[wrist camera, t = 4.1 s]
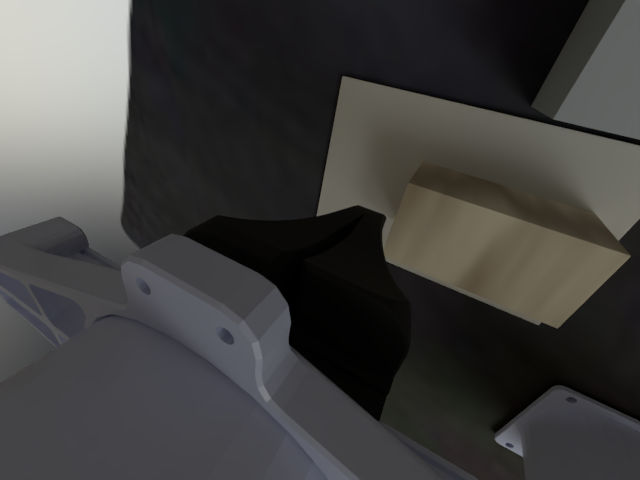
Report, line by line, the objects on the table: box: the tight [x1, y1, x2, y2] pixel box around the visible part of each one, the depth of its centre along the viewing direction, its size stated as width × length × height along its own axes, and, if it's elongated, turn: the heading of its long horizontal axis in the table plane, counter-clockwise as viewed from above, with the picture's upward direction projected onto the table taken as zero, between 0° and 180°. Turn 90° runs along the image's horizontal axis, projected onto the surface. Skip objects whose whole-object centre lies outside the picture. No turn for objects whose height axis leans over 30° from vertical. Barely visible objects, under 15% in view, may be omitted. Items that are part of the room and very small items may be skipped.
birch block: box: [384, 161, 631, 329], centre depth 14 cm, size 4×4×8 cm
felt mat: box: [317, 76, 640, 325], centre depth 16 cm, size 15×10×1 cm, turn 79°
